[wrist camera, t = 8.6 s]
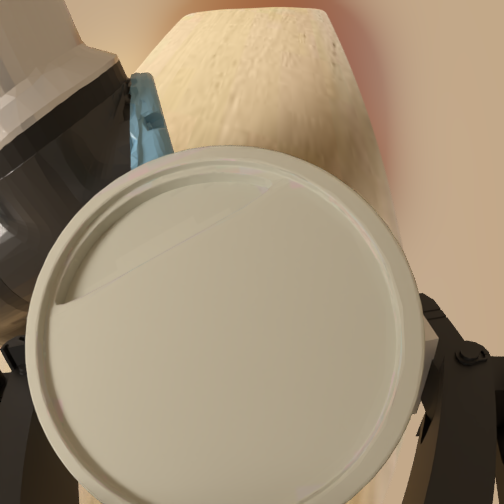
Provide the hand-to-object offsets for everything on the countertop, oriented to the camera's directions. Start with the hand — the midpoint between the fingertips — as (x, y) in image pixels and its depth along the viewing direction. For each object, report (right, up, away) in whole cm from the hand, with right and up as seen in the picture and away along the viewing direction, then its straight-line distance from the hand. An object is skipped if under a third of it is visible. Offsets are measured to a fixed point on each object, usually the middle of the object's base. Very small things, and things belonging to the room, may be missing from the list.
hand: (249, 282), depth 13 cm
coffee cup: (+1, -5, +3) cm, 6 cm away
